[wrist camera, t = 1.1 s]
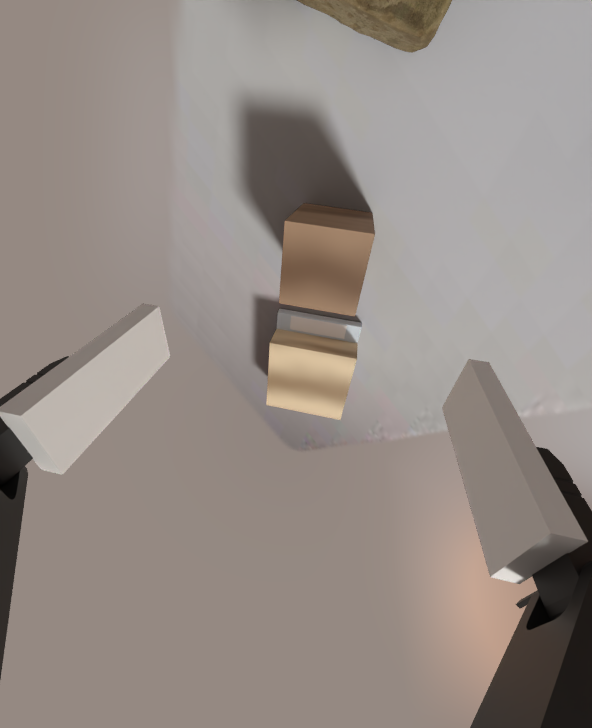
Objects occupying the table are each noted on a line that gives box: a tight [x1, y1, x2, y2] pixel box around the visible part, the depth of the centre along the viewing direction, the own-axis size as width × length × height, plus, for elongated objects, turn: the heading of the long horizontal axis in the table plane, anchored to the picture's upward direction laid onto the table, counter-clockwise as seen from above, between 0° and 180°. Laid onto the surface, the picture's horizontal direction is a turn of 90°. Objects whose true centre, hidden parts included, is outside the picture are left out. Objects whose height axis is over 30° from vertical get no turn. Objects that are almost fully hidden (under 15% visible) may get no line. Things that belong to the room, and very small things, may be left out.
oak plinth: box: [267, 329, 357, 420], centre depth 34 cm, size 9×9×3 cm
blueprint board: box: [277, 309, 362, 343], centre depth 36 cm, size 13×9×1 cm
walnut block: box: [279, 203, 375, 316], centre depth 24 cm, size 6×6×8 cm
